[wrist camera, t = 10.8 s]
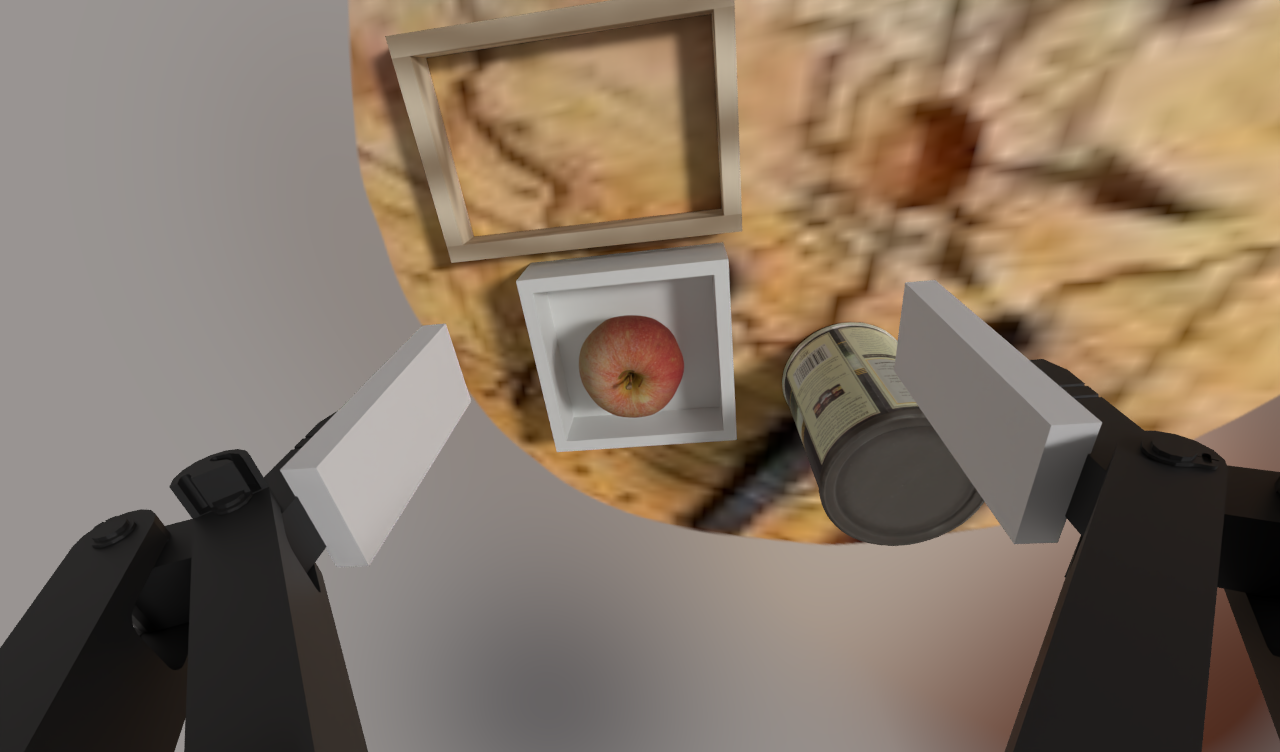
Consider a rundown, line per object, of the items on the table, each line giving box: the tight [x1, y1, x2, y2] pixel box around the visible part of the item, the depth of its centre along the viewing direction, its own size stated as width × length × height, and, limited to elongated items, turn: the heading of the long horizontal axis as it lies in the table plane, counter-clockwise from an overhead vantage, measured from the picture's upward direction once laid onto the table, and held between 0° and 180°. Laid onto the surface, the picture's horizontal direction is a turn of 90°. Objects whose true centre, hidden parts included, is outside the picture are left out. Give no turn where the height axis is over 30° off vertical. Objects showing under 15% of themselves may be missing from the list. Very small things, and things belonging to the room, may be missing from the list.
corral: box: [385, 0, 742, 263], centre depth 37 cm, size 14×21×2 cm
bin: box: [516, 242, 737, 452], centre depth 43 cm, size 15×15×4 cm
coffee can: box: [782, 322, 985, 546], centre depth 39 cm, size 10×10×14 cm
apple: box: [579, 315, 684, 418], centre depth 41 cm, size 8×8×8 cm
